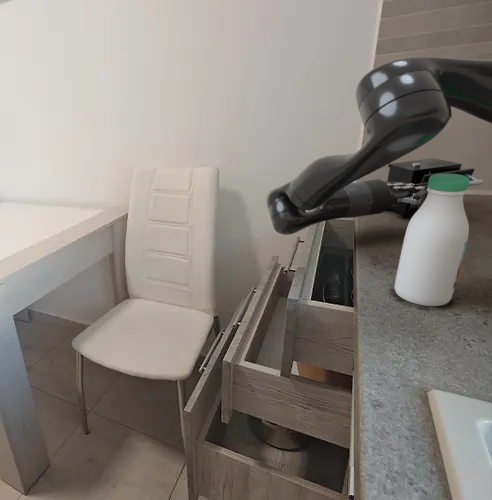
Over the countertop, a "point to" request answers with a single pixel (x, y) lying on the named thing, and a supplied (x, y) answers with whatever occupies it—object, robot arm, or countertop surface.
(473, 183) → the oven door
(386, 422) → the countertop surface
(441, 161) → the black box with rod
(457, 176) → the milk bottle
